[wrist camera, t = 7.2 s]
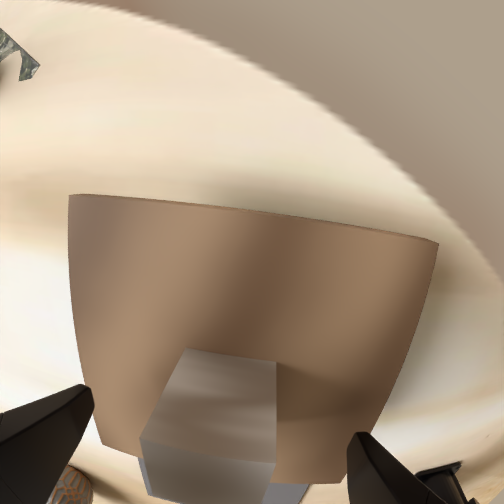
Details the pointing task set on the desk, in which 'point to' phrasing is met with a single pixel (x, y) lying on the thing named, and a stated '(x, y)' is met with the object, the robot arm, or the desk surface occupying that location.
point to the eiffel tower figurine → (4, 46)
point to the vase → (72, 488)
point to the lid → (238, 338)
